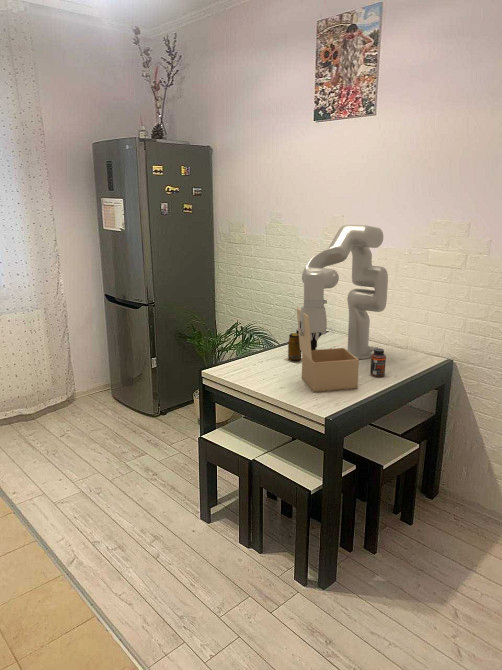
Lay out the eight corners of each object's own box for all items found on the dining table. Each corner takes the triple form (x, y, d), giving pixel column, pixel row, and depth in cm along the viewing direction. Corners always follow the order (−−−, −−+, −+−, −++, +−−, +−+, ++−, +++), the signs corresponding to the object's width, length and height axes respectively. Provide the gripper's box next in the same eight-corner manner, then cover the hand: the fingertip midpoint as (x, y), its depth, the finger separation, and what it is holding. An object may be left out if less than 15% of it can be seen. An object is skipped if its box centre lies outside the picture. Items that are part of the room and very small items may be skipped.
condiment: (295, 356, 241) (295, 331, 238) (307, 360, 235) (308, 335, 232) (283, 359, 237) (283, 334, 234) (296, 363, 231) (296, 338, 227)
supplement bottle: (376, 378, 211) (378, 352, 208) (367, 374, 217) (368, 348, 214) (387, 376, 214) (389, 350, 211) (378, 371, 219) (379, 346, 216)
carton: (343, 375, 216) (344, 347, 213) (357, 388, 201) (358, 359, 197) (301, 378, 213) (302, 350, 209) (313, 392, 197) (313, 362, 194)
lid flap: (297, 307, 204) (296, 307, 204) (308, 316, 189) (307, 316, 189) (301, 349, 209) (300, 349, 209) (312, 360, 194) (310, 360, 194)
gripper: (328, 300, 201) (327, 345, 206) (292, 302, 199) (291, 348, 204) (335, 304, 194) (334, 350, 199) (297, 306, 191) (296, 353, 196)
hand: (312, 349), depth 201 cm, fingers closed
